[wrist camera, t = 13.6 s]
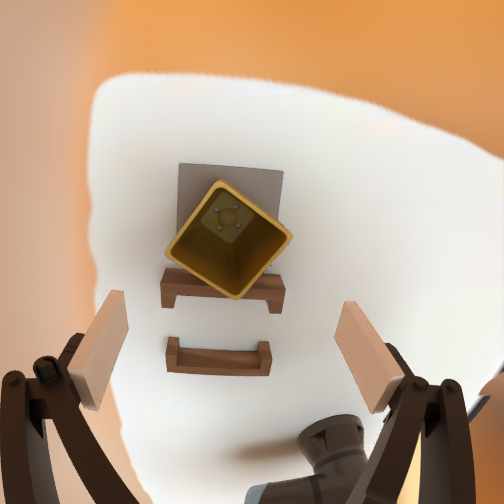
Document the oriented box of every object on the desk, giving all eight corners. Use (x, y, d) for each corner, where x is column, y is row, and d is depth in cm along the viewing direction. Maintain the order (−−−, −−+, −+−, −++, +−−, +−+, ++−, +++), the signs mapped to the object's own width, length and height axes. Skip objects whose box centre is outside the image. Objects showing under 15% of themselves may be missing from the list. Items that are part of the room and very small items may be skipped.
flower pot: (233, 264, 38) (237, 303, 29) (176, 225, 35) (162, 255, 27) (278, 211, 35) (295, 236, 27) (220, 166, 33) (218, 178, 25)
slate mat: (270, 263, 39) (271, 265, 38) (177, 258, 37) (176, 260, 37) (282, 171, 34) (283, 172, 34) (180, 163, 33) (179, 163, 32)
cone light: (404, 422, 61) (453, 523, 28) (442, 417, 64) (489, 500, 32) (356, 467, 69) (385, 555, 37) (396, 461, 73) (428, 537, 41)
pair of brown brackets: (265, 358, 45) (268, 376, 41) (170, 354, 43) (167, 371, 40) (280, 274, 39) (285, 289, 36) (166, 268, 38) (160, 282, 34)
